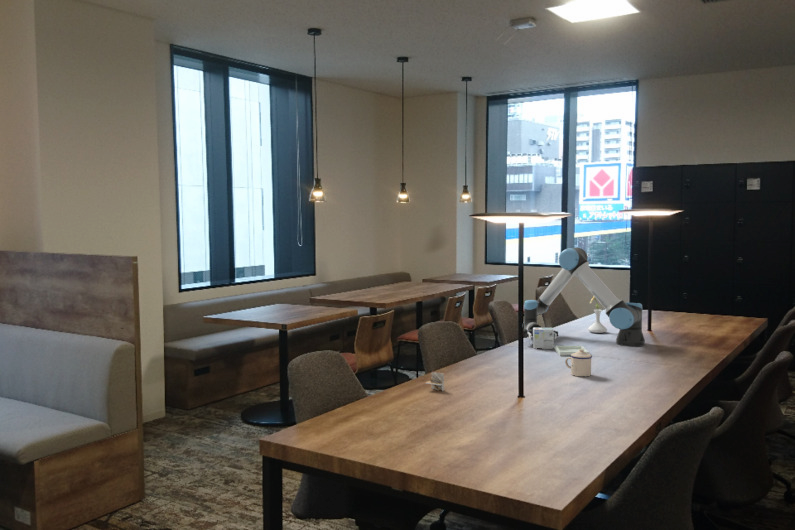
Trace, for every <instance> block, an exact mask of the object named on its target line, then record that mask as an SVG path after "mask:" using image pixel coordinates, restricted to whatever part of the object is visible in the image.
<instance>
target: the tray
mask: <svg viewBox="0 0 795 530" xmlns="http://www.w3.org/2000/svg"><path fill="white" fill-rule="evenodd" d="M579 349H583V350H584V352H586V353H588V354H590V352H589V350H587V349H586V347H584V346H583V345H554V348H553V350H554V351H555V352H556V353H557V355H558V356H559V355H560V356H559V357H571V354H573V353H576V352H577V351H579Z"/></svg>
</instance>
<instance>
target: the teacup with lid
mask: <svg viewBox="0 0 795 530" xmlns="http://www.w3.org/2000/svg"><path fill="white" fill-rule="evenodd" d="M592 358H593V357H592V354H590V353H589V354H588V353H586V352H584V350H583V349H579V351H577V352H576V353H573V354H571V356H567V357H566V358H565V360H564V363H565V366H566V367H567V368H568V369H570V373H571V376H573V375H575V376H574V377H577V376H589V377H591V376H592ZM568 360H571V363H570V365H569V364H568ZM590 375H591V376H590Z"/></svg>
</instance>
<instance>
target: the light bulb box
mask: <svg viewBox="0 0 795 530" xmlns="http://www.w3.org/2000/svg"><path fill="white" fill-rule="evenodd" d="M554 340H555V338H554V328H553V327H541V328H533V337H532V347H533V349H535V350H536V349H537V348H542V349H541V350H554V346H555V345H554V344H555V343H554ZM537 350H538V349H537Z"/></svg>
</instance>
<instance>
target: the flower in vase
mask: <svg viewBox="0 0 795 530" xmlns="http://www.w3.org/2000/svg"><path fill="white" fill-rule="evenodd" d="M592 296H593V297H592V298H591V299H590V301H589V304H592V303H593V302H594V300H595V302H596V304H595V309H593V312H594V313H595V314H594V315H595V321H594V322H593V324H591V325H590V326H589V327H588V328H587V331H588V332H590V333H593V334H594V333H595V334H596V333H597V334H603V333H606V332H607V331H608V328H607V327H606V326H604V324H603V323H602V322H601V321H600V318H601V313H602V312H603V310H602V309H599V308H601V307H600V305H599V303H598V300H597V299H596V298H595V297H594V295H593V294H592Z"/></svg>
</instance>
